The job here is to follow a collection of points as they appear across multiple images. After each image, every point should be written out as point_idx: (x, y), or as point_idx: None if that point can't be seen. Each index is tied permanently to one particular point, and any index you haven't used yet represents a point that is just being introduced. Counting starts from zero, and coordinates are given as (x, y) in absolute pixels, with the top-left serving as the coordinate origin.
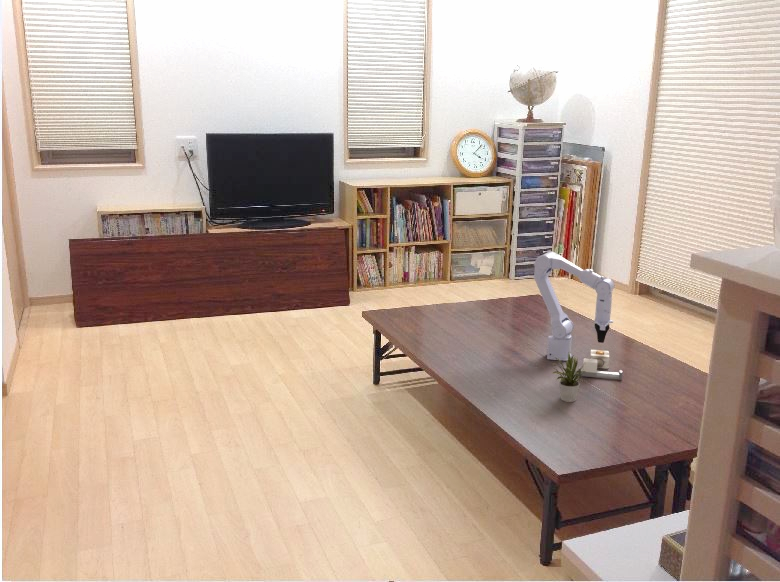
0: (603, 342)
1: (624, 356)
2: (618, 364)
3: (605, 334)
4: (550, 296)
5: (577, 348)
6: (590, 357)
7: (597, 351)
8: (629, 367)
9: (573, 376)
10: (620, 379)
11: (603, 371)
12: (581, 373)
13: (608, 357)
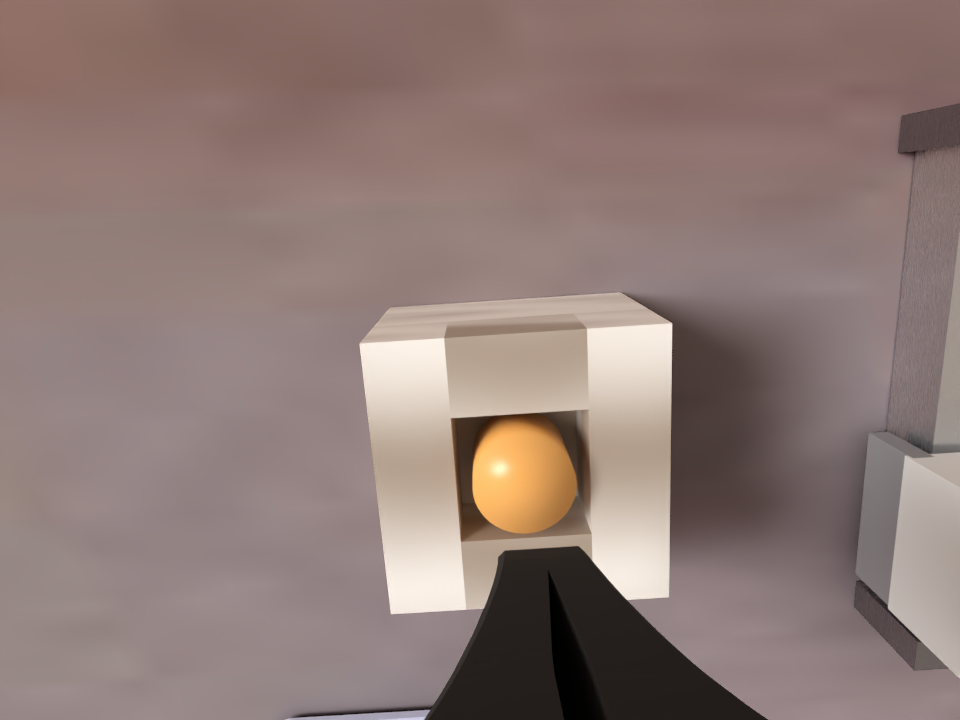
0: (577, 547)
1: (41, 85)
2: (411, 166)
3: (726, 702)
4: None
5: (20, 669)
6: None
7: (509, 526)
8: (484, 3)
9: None
10: None
11: (947, 361)
12: None
13: (670, 335)
